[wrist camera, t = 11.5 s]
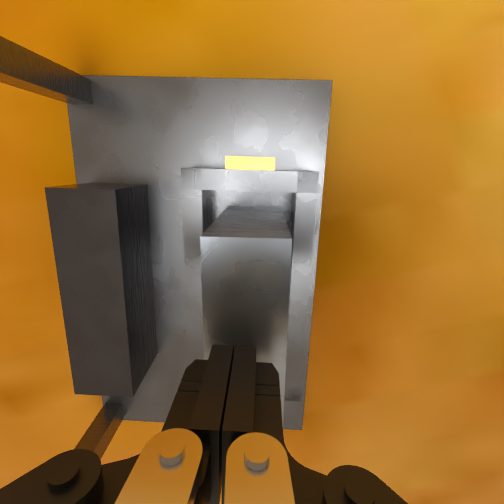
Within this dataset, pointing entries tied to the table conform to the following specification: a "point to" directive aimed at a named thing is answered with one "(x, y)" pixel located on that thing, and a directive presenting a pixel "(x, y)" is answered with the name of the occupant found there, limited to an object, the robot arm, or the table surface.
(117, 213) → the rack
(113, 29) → the table surface
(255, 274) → the grey rectangular block
